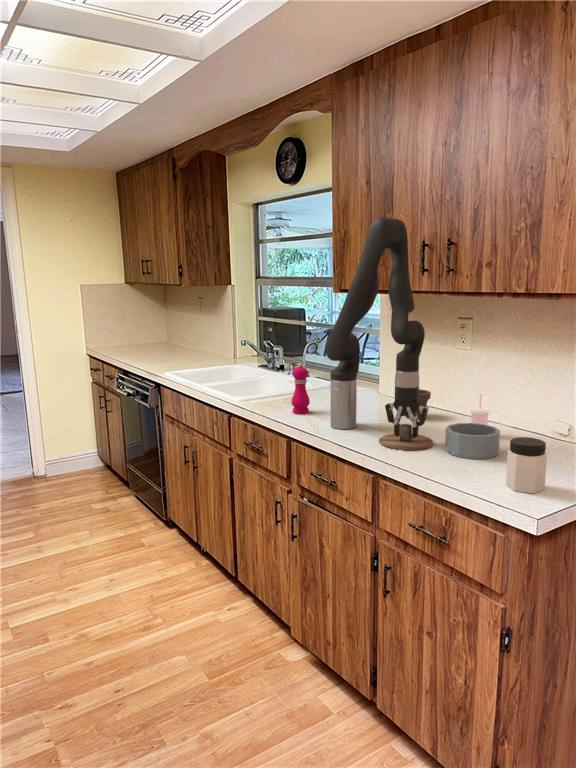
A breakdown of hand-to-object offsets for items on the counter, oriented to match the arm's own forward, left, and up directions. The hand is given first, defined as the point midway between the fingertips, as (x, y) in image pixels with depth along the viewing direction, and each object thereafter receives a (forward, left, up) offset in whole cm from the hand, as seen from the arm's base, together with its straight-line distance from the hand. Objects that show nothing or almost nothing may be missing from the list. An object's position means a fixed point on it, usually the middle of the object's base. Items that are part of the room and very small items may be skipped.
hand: (405, 436), depth 181 cm
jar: (+40, +22, -2) cm, 46 cm away
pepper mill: (-44, -33, -2) cm, 55 cm away
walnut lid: (0, 0, -3) cm, 3 cm away
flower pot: (-34, +10, -2) cm, 35 cm away
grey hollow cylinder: (+10, +18, -2) cm, 21 cm away
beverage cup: (-8, +26, -2) cm, 27 cm away
